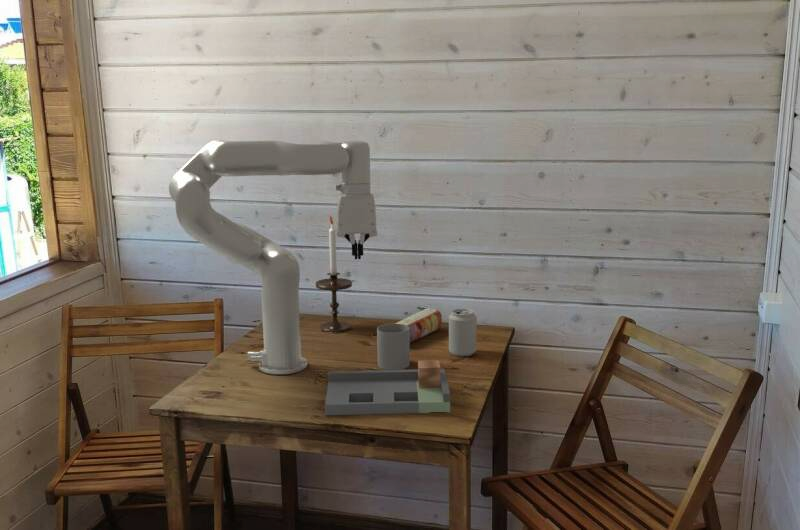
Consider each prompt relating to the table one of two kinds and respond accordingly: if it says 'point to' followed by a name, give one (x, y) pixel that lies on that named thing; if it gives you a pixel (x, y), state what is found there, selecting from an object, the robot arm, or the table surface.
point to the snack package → (422, 323)
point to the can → (462, 332)
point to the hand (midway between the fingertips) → (357, 258)
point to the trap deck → (383, 393)
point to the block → (429, 374)
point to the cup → (393, 346)
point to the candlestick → (334, 287)
